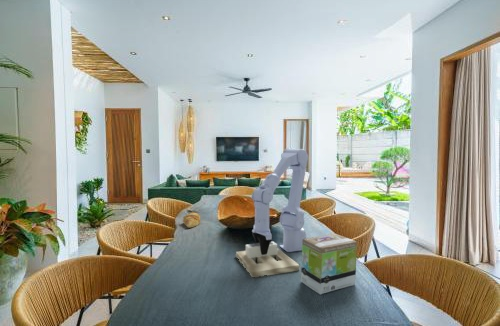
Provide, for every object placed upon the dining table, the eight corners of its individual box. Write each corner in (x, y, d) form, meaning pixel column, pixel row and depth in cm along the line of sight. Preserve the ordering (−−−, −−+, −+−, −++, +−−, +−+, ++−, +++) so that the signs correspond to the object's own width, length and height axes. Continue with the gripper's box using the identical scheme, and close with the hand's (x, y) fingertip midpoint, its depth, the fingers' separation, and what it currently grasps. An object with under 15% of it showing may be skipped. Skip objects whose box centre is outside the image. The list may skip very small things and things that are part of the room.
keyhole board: (276, 251, 121) (276, 246, 121) (299, 270, 102) (299, 264, 102) (235, 256, 115) (235, 251, 115) (252, 277, 96) (252, 272, 96)
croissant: (194, 235, 155) (201, 222, 155) (177, 227, 154) (184, 214, 154) (198, 224, 176) (204, 213, 176) (184, 216, 175) (190, 205, 175)
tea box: (321, 296, 84) (321, 247, 84) (300, 282, 93) (300, 238, 93) (356, 285, 91) (357, 240, 91) (334, 273, 100) (335, 232, 99)
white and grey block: (273, 255, 116) (273, 240, 116) (277, 258, 112) (277, 243, 112) (245, 258, 112) (245, 243, 112) (248, 262, 108) (249, 247, 108)
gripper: (246, 215, 117) (246, 247, 118) (259, 223, 103) (259, 260, 104) (262, 213, 119) (262, 245, 120) (276, 222, 106) (276, 257, 106)
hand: (261, 252), depth 112 cm, fingers closed on white and grey block, 4 cm apart
